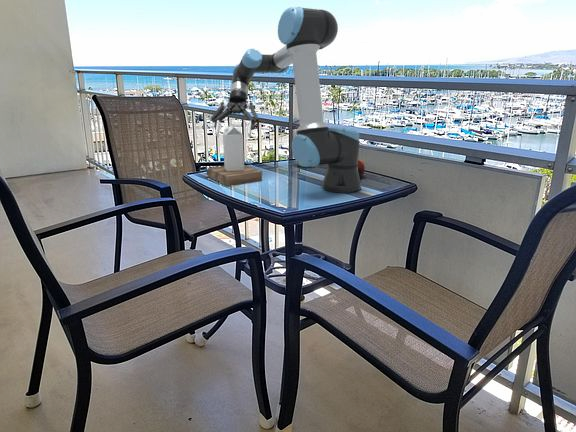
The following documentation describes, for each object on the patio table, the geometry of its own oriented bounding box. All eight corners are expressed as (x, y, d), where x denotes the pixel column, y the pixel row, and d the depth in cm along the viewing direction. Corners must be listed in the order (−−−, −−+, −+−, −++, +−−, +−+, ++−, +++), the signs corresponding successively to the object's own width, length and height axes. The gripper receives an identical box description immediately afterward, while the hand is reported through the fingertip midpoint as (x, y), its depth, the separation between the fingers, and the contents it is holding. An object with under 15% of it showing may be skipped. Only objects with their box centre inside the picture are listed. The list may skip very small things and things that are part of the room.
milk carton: (240, 167, 180) (239, 122, 173) (244, 170, 173) (242, 124, 167) (224, 168, 178) (222, 122, 171) (227, 172, 171) (225, 125, 165)
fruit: (357, 181, 174) (359, 157, 171) (338, 177, 180) (339, 154, 177) (368, 176, 181) (370, 154, 177) (350, 173, 186) (351, 151, 183)
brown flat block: (262, 180, 174) (261, 171, 173) (227, 186, 165) (227, 176, 164) (239, 171, 189) (239, 162, 188) (206, 176, 181) (206, 167, 179)
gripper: (268, 101, 184) (263, 140, 175) (212, 100, 186) (205, 140, 177) (266, 89, 177) (261, 129, 168) (208, 89, 179) (201, 129, 170)
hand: (232, 135), depth 173 cm, fingers open, 13 cm apart
